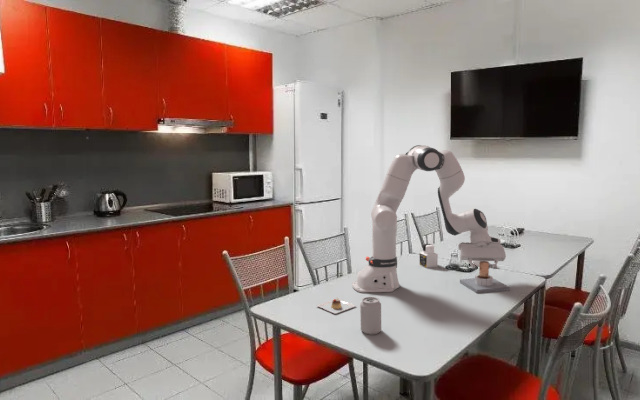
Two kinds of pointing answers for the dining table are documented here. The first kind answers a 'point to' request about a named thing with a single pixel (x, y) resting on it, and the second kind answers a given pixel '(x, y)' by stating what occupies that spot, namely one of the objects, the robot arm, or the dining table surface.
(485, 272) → the copper tube
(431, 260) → the medicine bottle
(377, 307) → the can
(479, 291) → the collar plate
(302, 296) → the dining table surface
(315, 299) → the dining table surface
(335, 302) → the dessert
